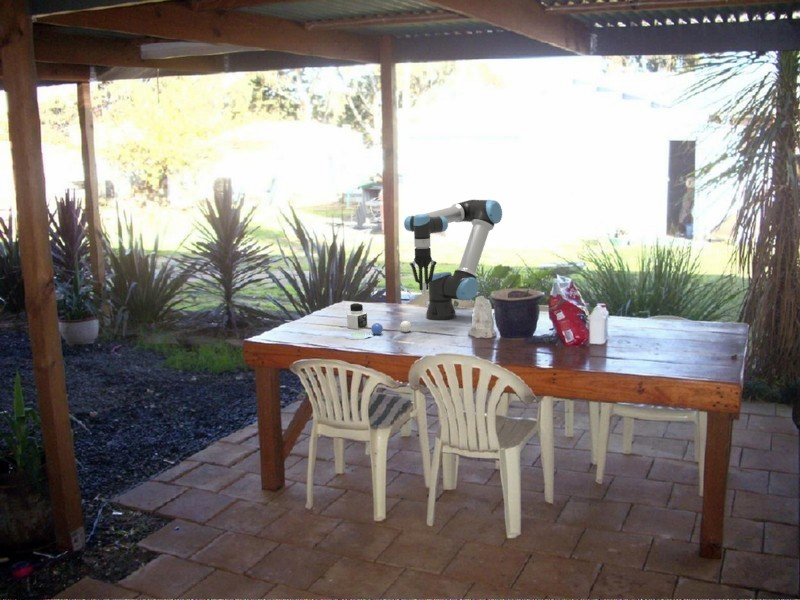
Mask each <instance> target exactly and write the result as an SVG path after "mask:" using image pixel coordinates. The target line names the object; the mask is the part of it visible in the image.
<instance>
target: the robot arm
mask: <svg viewBox="0 0 800 600" xmlns="http://www.w3.org/2000/svg"><path fill="white" fill-rule="evenodd" d="M502 218H503V209H502V207H501V204H500V202H498V201H497V200H492V199H469V200H465V201H460V202H459V203H454V204H453V205H451V206H450V207H446V208H441V209H438V210H434V211H430V212H427V213H422V214H415V215H408V216H407V217H405V219H404V221H403V224H404V229H405V231H408V232H412V233H413V236H414V237H413V239H414V240H413V241H414V242H413V243H414V258H413V261H411V262H409V266H410V268H411V271H412V274H413V277H414V281H415V283H417V284H419V285H418V287H419V291H421V297H422V298H427V291H428V297H429V298H428V302H429V304H428V306H427V309H426V315H425V316H426V318H427V319H428V320H432V321H434V320H435V321H445V320H446V321H447V320H452V319H455V318H456V317H457V311H456V310H455V309H456V308H455V306H454V304H453V300H458V301H462V302H463V301H470V300H473V299H474V298H475V297H476V295H477V294H478V291H479V282H478V280H477V278H478V277H477V275H476V271H477V268H478V265H479V263H480V259H481V258H482V253H483V251H484V247H485V245H486V242H487V238H488V236H489V232H490V231H492V230H494V227H495V225H497V224H499V223H500V222H501V220H502ZM461 222H462V223H463V222H467V223H471V224H472V228H471V231H470V234H469V236H468V239H467V243H466V246H465V249H464V252H463V255H462V258H461V260H460V264H459V266H458V268H456V269H455V270H454V273H453V275H452V272H451V271H443V272H435V266H436V265H437V263H438V262H437V261H436V260H433V258H432V254H431V253H432V252H431V251H432V250H431V235H432V234H438V233H439V234H441V233H442V232H443V233H444V232H446V231H447V230H448V227H449V223H461ZM415 266H417V267H415ZM429 266H430V269H429ZM416 268H418V273H417V269H416ZM423 272H424V273H423ZM423 277H424V280H423ZM423 281H424V282H423ZM454 317H455V318H454Z"/></svg>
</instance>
